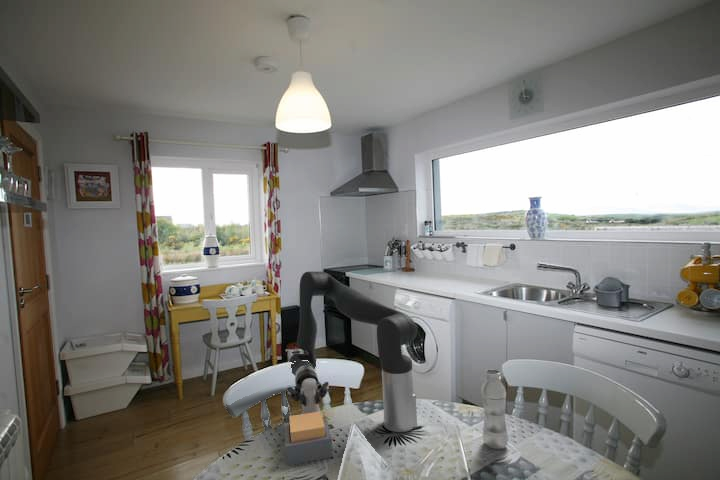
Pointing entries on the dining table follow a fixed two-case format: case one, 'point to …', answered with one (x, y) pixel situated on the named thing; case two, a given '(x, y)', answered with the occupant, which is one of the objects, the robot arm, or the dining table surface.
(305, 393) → the salt shaker
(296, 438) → the orange block
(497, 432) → the plastic bottle
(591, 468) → the dining table surface
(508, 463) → the dining table surface
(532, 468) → the dining table surface
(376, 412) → the dining table surface
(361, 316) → the robot arm
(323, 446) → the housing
